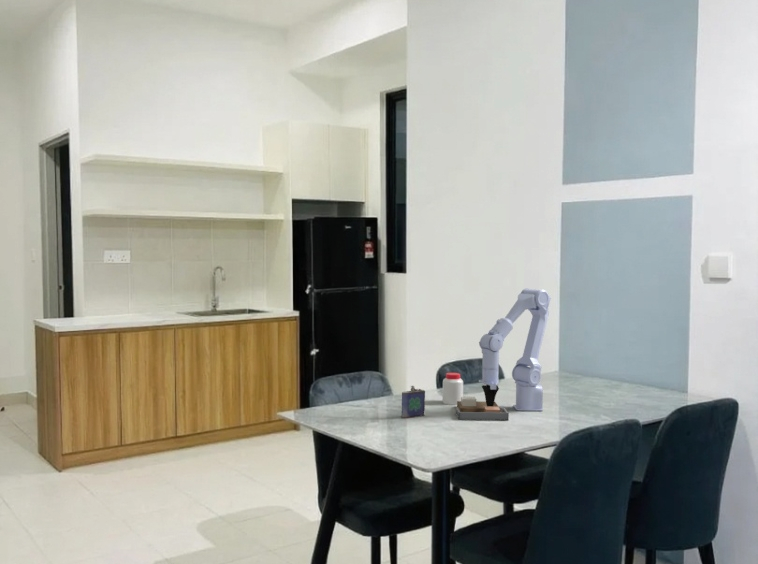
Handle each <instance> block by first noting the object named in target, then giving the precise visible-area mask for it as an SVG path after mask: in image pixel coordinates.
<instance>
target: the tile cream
mask: <svg viewBox="0 0 758 564" xmlns="http://www.w3.org/2000/svg"><path fill="white" fill-rule="evenodd" d="M476 401H477V399H476V397H475V396H464V395H463V396H461V405H462V406H476Z"/></svg>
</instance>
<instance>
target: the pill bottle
mask: <svg viewBox="0 0 758 564" xmlns="http://www.w3.org/2000/svg"><path fill="white" fill-rule="evenodd" d="M461 396H464V380H463V379H462V378H461V373H459V372H447V373H445V378H443V380H442V404H445V405H453V406H455V405H456V406H457V401H461Z"/></svg>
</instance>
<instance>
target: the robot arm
mask: <svg viewBox="0 0 758 564" xmlns="http://www.w3.org/2000/svg"><path fill="white" fill-rule="evenodd" d="M551 300H552V298H551V297H550V295H549V293H548V291H547V290H546V289H536V288H535V289H533V288H524V289H522V290H521V292H520V293H519V294H518V295H517V300H516V302H515V303H514V304H513V306H512V307H511V308H510V310H509V311H508V313H507V314H506V316H505V317H502V318H500V319H497V320H496V321H495V322H496V323H495V324H494V325H493V327H492V328H491V329H490V330H489V331H488V333H485V334H483V336H481V338H480V339H479V342H478V343H479V347H480V350H481V353H482V360H481V361H482V362H481V363H482V364H481V365H482V369H481V374H482V375H481V377H482V379H478V383H482V385H481V388H482V390H483V392H484V393H483V395H484V399H485V402H486V404H487V406H493V405H494V402H495V399H496V396H497V393H498V392H499V389H500V388H499V385H498V384H499V383H500V380H499V373H500V371H499V366H500V365H499V363H500V360H499V359H500V350H502V348H503V346H504V342H505V339H506V337H508V335H509V334H510V333H511V331H512V330H513V325H514V323H515V322H516V321H517V319H518V318H519V317H521V315H522V314H523V313H524V312H525V311H526V310H528V311H529V312H530V314H531V315H532V317H531V321H530V324H529V328H528V329H529V330H528V333H527V336H526V341H525V345H524V349H523V353H522V356H521V357H520V358H518V359H517V360H516V363H515V366H514V367H513V369H512V372H511V377H512V379H513V380H514V384H515V404H513V405H512V407H513V408H514V409H515V410H516V411H530V412H531V411H534V412H536V411H537V412H539V411H540V412H543V411H544V410H543V403H544V402H543V399H544V398H543V397H544V395H543V394H544V393H543V386H542V385H541V384H539V383H540V381H541V380H542V373H541V371H542V365H541V364H540V362H539V361H538V360H539V355H540V352H541V347H542V343H543V340H544V334H545V331H546V327H547V323H548V320H549V319H548V318H549V313H550V311H549V307H550V303H551ZM483 384H485V385H483Z"/></svg>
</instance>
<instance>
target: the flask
mask: <svg viewBox="0 0 758 564" xmlns="http://www.w3.org/2000/svg"><path fill="white" fill-rule="evenodd" d="M409 388H410V390H407V391H401V419H412V418H418V417H424V416H425V402H426V401H425V400H426V390H424V389H421V388H415V385H410V386H409Z"/></svg>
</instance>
